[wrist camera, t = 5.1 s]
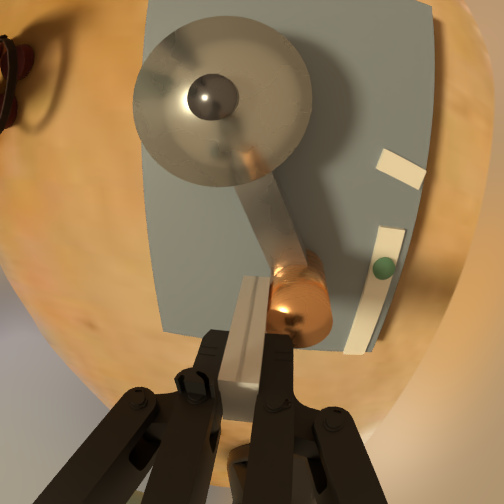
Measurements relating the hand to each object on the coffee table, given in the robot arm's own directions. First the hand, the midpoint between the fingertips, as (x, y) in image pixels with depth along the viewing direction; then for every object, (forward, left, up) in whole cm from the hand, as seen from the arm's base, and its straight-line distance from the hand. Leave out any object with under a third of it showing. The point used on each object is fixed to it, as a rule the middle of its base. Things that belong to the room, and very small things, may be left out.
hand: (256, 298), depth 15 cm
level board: (+6, -1, -4) cm, 7 cm away
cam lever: (+6, +1, -3) cm, 7 cm away
